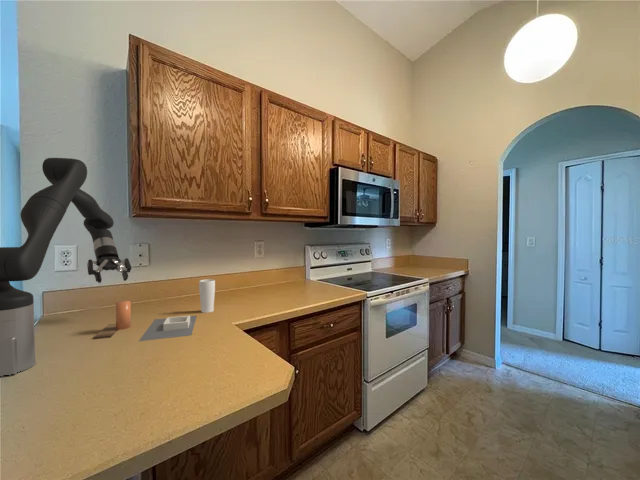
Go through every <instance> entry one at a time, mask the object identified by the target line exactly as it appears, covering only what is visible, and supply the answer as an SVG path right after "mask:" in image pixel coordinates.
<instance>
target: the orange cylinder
mask: <svg viewBox="0 0 640 480" xmlns="http://www.w3.org/2000/svg"><path fill="white" fill-rule="evenodd" d="M131 303H132V302H131V300H118V301H116V302H115V324H116V330H118V331H120V330H127V329H129V328H131V325H132V324H131V323H132V321H131V319H132V318H131V315H132V313H131V312H132V311H131V308H132V305H131Z"/></svg>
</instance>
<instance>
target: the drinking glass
mask: <svg viewBox="0 0 640 480" xmlns="http://www.w3.org/2000/svg"><path fill="white" fill-rule="evenodd" d="M198 284H199V285H198V289H199V290H198V291H199V299H200V300H199V302H200V311H201V312H200V313H204V314H207V313H212V312H214V311H215V295H216V280H215V279H210V278H209V279H208V278H207V279H200V280H199V281H198Z"/></svg>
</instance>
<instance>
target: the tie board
mask: <svg viewBox="0 0 640 480" xmlns="http://www.w3.org/2000/svg"><path fill="white" fill-rule="evenodd" d="M196 320H197V315H183V316H168V317H166V318H155V319H154V320H153V321H152V322H151V324H150V325H149V326H148V328H147V329H146V331H145V332H144V333H143V335H142V336H141V337H140V339H139V340H138V342H144V341H145V342H146V341H152V340H162V339H171V338H179V337H189V336H192V335H193V331H194V327H195V323H196Z"/></svg>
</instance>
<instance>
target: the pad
mask: <svg viewBox="0 0 640 480" xmlns="http://www.w3.org/2000/svg"><path fill="white" fill-rule="evenodd" d="M118 331H119V330H116V323H110V324H107V325H106V326H105V327H104V328H103V329H101V330H100V331H99V332H98V333H97V334H96V335H94V336H93V340H94V339H95V340H97V339H106V338H107V339H108V338H112V337H113V336H114V335H115V334H116V333H117V332H118Z"/></svg>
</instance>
